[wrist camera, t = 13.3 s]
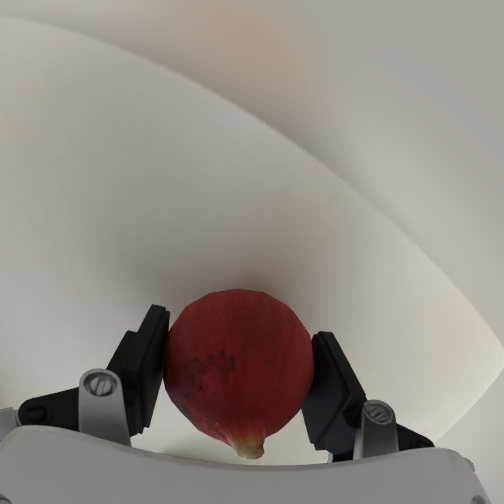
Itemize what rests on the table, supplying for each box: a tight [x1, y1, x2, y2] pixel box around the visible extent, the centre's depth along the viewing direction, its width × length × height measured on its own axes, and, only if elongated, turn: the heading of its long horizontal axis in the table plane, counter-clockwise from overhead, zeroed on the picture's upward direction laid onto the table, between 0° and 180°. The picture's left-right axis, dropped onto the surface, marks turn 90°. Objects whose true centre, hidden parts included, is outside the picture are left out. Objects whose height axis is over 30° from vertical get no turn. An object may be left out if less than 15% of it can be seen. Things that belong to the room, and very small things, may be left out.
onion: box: [163, 289, 314, 459], centre depth 10 cm, size 6×6×8 cm
